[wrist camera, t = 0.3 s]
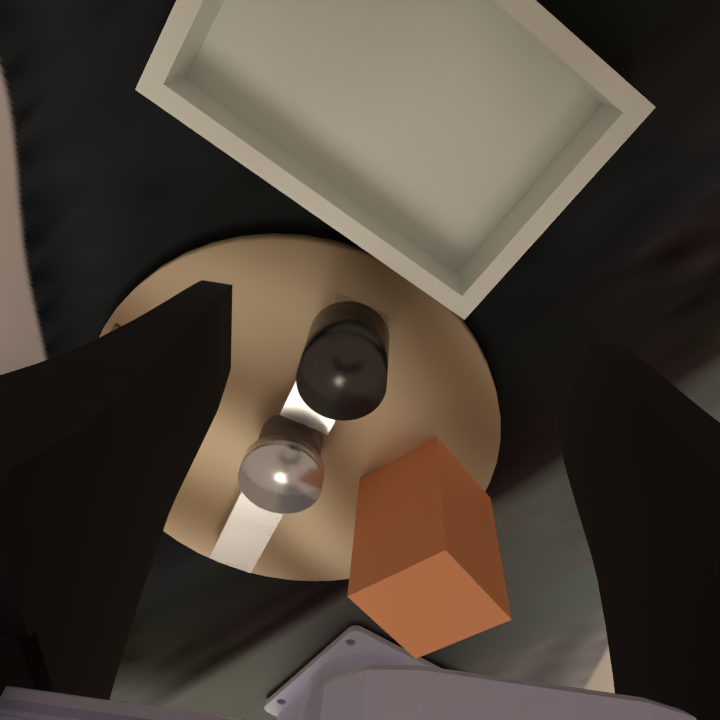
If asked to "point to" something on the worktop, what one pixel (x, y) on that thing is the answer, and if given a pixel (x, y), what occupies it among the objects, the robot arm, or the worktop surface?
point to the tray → (402, 120)
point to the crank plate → (278, 371)
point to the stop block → (427, 552)
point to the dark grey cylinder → (311, 408)
